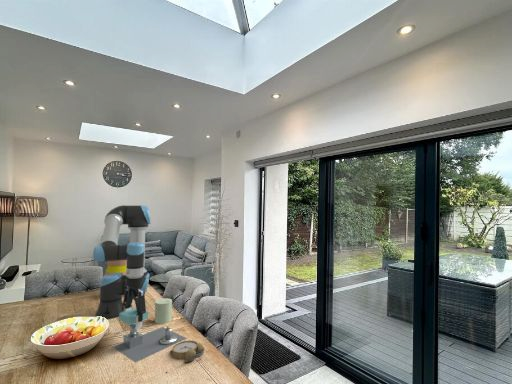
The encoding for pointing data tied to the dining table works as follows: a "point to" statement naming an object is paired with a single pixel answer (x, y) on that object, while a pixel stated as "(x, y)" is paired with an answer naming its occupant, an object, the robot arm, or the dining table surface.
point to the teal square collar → (131, 316)
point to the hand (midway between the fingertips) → (133, 325)
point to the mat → (147, 345)
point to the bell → (168, 337)
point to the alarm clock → (187, 350)
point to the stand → (133, 338)
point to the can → (163, 311)
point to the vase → (116, 267)
